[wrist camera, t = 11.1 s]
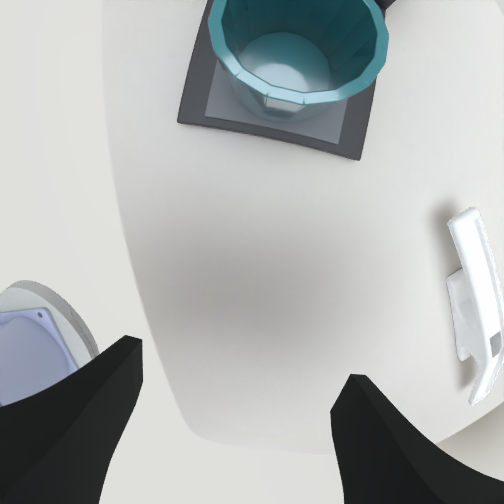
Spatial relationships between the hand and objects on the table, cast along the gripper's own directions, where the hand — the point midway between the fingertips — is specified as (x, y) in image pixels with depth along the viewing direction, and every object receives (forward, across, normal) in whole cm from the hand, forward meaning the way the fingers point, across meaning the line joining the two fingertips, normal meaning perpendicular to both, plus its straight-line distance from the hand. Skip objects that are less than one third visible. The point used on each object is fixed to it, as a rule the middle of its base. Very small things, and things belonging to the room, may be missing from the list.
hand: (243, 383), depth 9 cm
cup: (+8, +1, -12) cm, 14 cm away
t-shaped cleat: (+10, -18, 0) cm, 21 cm away
